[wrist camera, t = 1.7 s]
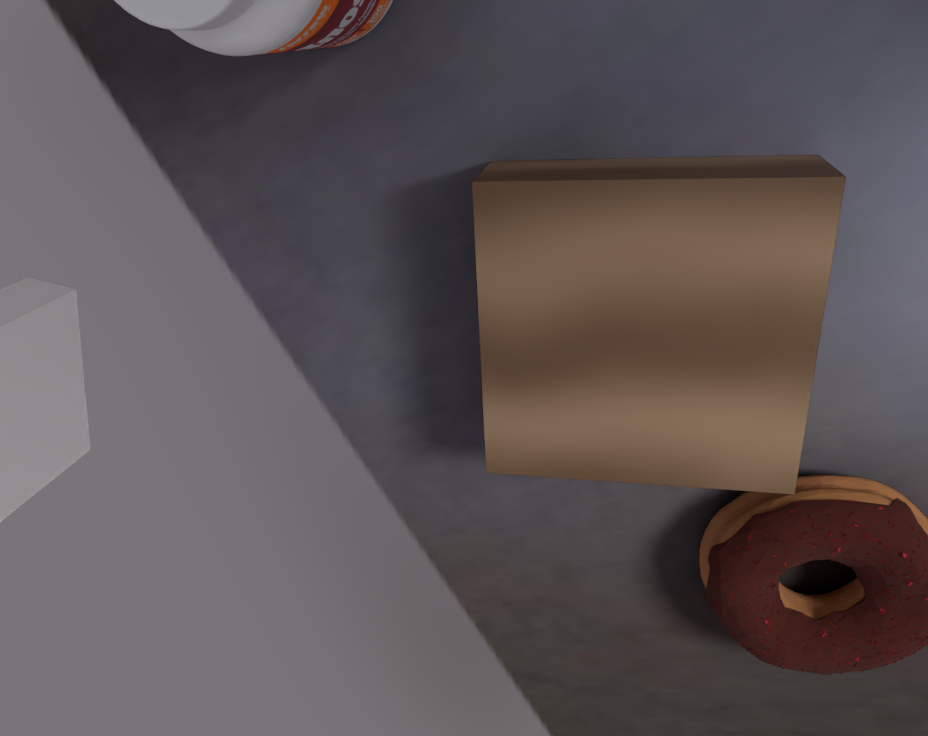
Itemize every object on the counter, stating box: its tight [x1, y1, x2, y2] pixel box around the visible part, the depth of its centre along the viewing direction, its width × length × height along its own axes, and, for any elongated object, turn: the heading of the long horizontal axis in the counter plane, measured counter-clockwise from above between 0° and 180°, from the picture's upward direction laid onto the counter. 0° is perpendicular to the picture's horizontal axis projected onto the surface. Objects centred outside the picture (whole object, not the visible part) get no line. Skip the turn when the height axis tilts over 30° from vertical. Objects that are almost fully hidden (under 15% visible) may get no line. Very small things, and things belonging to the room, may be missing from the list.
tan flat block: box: [472, 155, 846, 494], centre depth 29 cm, size 12×12×4 cm
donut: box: [699, 475, 928, 675], centre depth 32 cm, size 10×10×4 cm
